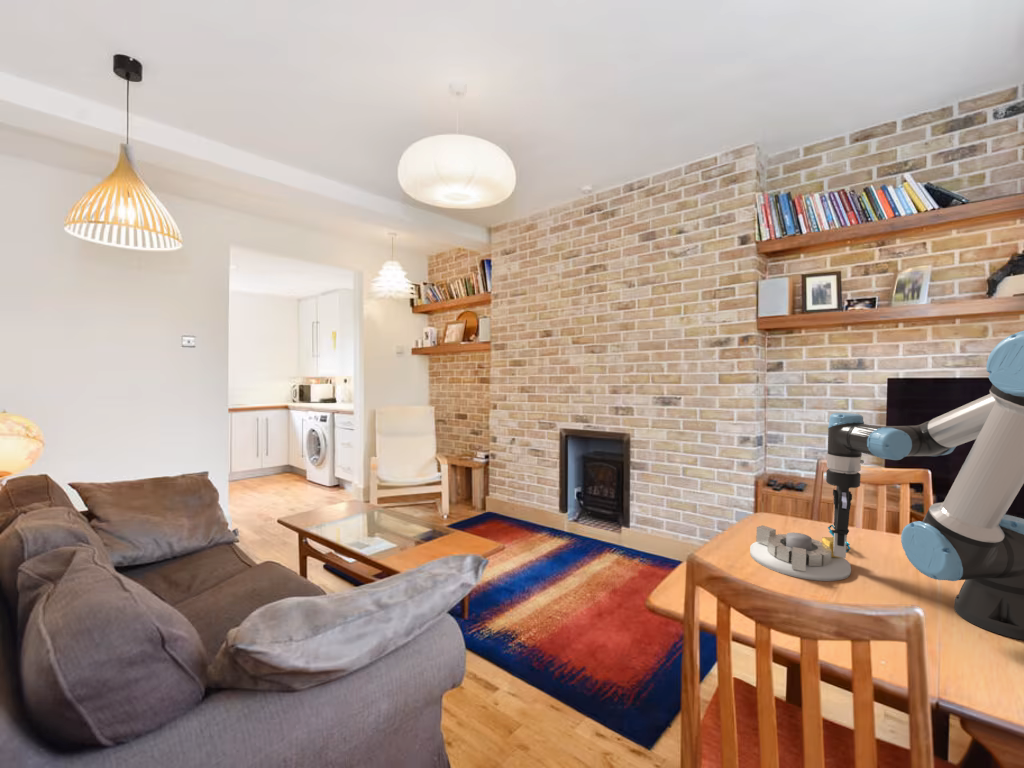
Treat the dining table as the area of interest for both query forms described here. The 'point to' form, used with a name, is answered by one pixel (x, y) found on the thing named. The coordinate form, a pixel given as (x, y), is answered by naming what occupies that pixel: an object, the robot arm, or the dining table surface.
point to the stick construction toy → (833, 536)
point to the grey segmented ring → (796, 549)
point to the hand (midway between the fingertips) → (839, 555)
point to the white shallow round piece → (830, 572)
